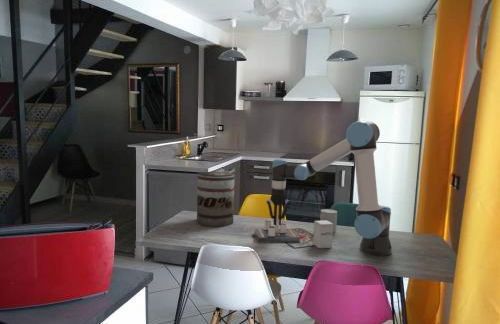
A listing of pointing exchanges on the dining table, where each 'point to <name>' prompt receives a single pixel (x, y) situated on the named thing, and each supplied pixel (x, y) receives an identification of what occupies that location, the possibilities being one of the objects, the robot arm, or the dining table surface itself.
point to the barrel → (215, 199)
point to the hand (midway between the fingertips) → (276, 230)
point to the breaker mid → (283, 228)
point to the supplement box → (323, 234)
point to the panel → (277, 236)
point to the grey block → (329, 217)
